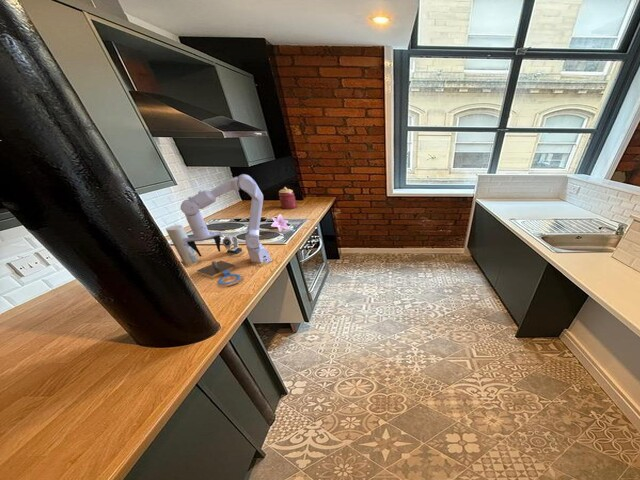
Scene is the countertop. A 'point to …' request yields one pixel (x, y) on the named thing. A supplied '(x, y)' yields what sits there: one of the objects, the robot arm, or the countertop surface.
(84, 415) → the countertop surface
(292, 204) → the kitchen canister
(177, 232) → the spray can
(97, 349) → the countertop surface
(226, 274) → the ring
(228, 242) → the watch
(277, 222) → the lily
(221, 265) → the platform
